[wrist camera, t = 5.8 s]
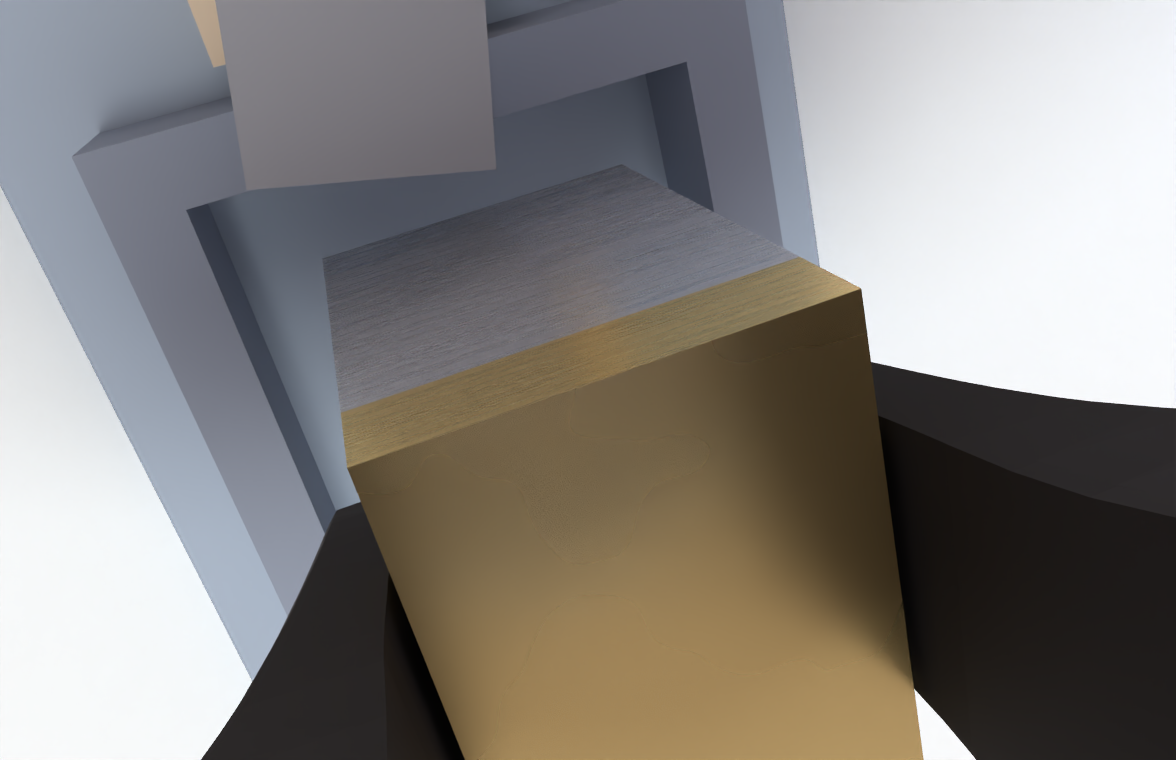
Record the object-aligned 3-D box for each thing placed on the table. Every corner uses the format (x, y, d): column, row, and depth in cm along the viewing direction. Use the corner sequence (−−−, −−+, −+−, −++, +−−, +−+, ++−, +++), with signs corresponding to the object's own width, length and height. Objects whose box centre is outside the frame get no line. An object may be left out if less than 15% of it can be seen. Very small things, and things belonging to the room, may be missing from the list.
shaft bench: (667, -550, 14) (861, -817, 9) (849, 644, 23) (990, 811, 19) (-249, -375, 12) (-592, -597, 7) (355, 845, 21) (374, 1086, 17)
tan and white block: (695, 484, 15) (923, 761, 10) (442, 578, 14) (534, 931, 9) (621, 164, 13) (862, 288, 7) (321, 258, 12) (347, 467, 7)
